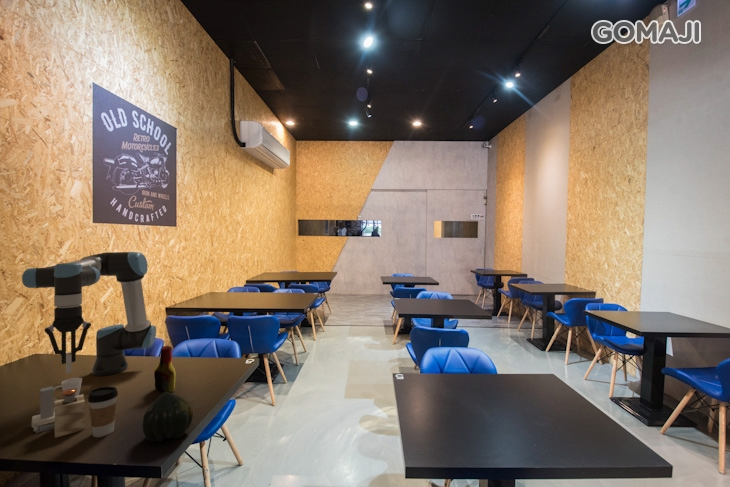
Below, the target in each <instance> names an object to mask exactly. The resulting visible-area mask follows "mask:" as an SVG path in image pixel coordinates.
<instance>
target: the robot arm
mask: <svg viewBox="0 0 730 487" xmlns="http://www.w3.org/2000/svg"><path fill="white" fill-rule="evenodd" d="M147 260H148V259H147V258H146V256H145V254H143V253H142V252H137V251H119V252H118V251H117V252H109V251H108V252H101V253H97V254H92V255H88V256H87V255H86V256H85V257H82V258H80V259H79V260H74V261H69V262H65V263H64V262H63V263H62V262H60V263H57V264H55V265H51V266H45V267H30V268H27V269H26V270H24V272H23V273H22V274H21V275H22V276H21V282H22V285H24V287H25V288H29V289H44V288H54V294H53V295H54V296H53V297H54V299H53V300H54V302H53V303H54V304H53V305H54V307H55V308H54V309H53V311H54V314H53V316H54V320H53V321H52V324H51V325H49V326H47V327H45V328H44V332H45V333H46V334H47V335H48V338H49V342H50V343H51V346H52V350H53V352H54V354H55V355H60V356H61V365H65V374H70V373H72V365H73V364H72V363H75V362H76V361H77V360H76V359H77V358H76V355H77V354H76V353H77V352H80V351H82V350H83V347H84V344H85V341H86V338H87V335H88V334H87V333H88V330H89V328H91V326H92V322H88V321H85V320H84V318H83V306H82V304H83V288H84V287H90V286H92V285H95V284H97V283H98V282H99V280H100V279H101V277H105V276H106V277H115V279H116V282H119V283H120V286H121V292H122V297H123V304H124V310H125V316H126V322H127V323H126V324H125V326H124V324H122V323H121V324H113V325H108V326H105V327H102V328H99V329H98V330H97V331H96V336H95V342H96V343H95V348H96V349H95V350H96V351H95V352H96V357H95V358H96V359H95V361H94V363H93V367H92V370H91V371H92V372H91V374H92V375H93V376H96V377H98V376H99V377H100V376H101V377H102V376H104V377H105V376H110V375H115V374H119V373H121V372H124V371H126V370H127V369H128V368H129V363H128V360H127V358H126V355H125V351H126V350H129V351H130V350H138V349H139V350H140V349H141V350H143V349H149V348H151V347H152V346H153V345H154V342H155V340H156V336H157V326H156V325H152V323H151V322H152V321H150V320H149V319H148V318H147V310H146V303H145V296H144V291H143V282H142V280H143V279H144V278H145V275H146V274H147V273H148V267H149V266H148V265H149V264H148V261H147ZM81 326H82V328H83V329H82V332H81V334H80V338H79V341H78V344H77V342H76V341H77V340H76V334H77V332H76V331H78V329H80V327H81ZM54 328H55V329H56V330H57V331H58V332H59V333H61V349H59V346H58V343H57V340H56V337H55V334H54V331H55V329H54ZM67 333H70V350H71V351H70V352H67ZM76 345H77V346H76Z"/></svg>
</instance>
